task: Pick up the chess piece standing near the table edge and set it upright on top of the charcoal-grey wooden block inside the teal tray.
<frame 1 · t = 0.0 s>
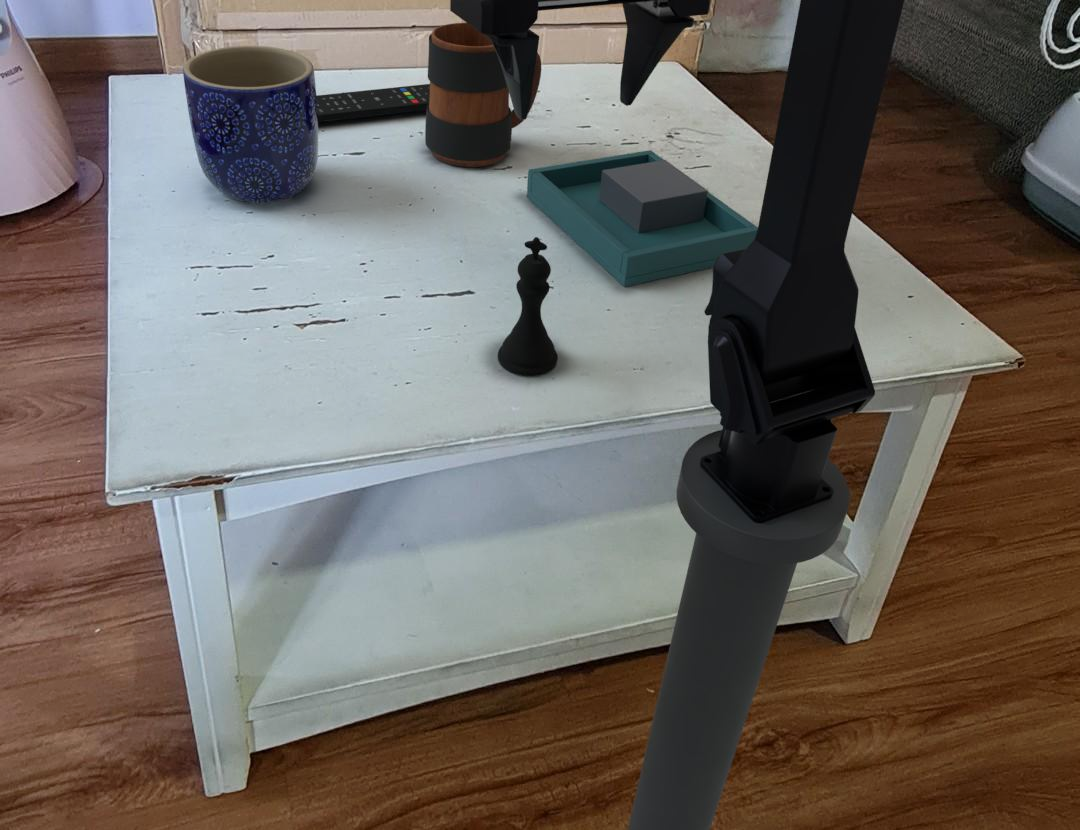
hand: (574, 110, 76), 13 cm above the table, tool pointing down, fingers open, 9 cm apart
chess piece: (527, 361, 73), on the table
mug: (483, 151, 102), on the table
remote control: (355, 115, 107), on the table
planter: (262, 188, 92), on the table
tray: (636, 226, 91), on the table
block: (650, 210, 92), resting on tray
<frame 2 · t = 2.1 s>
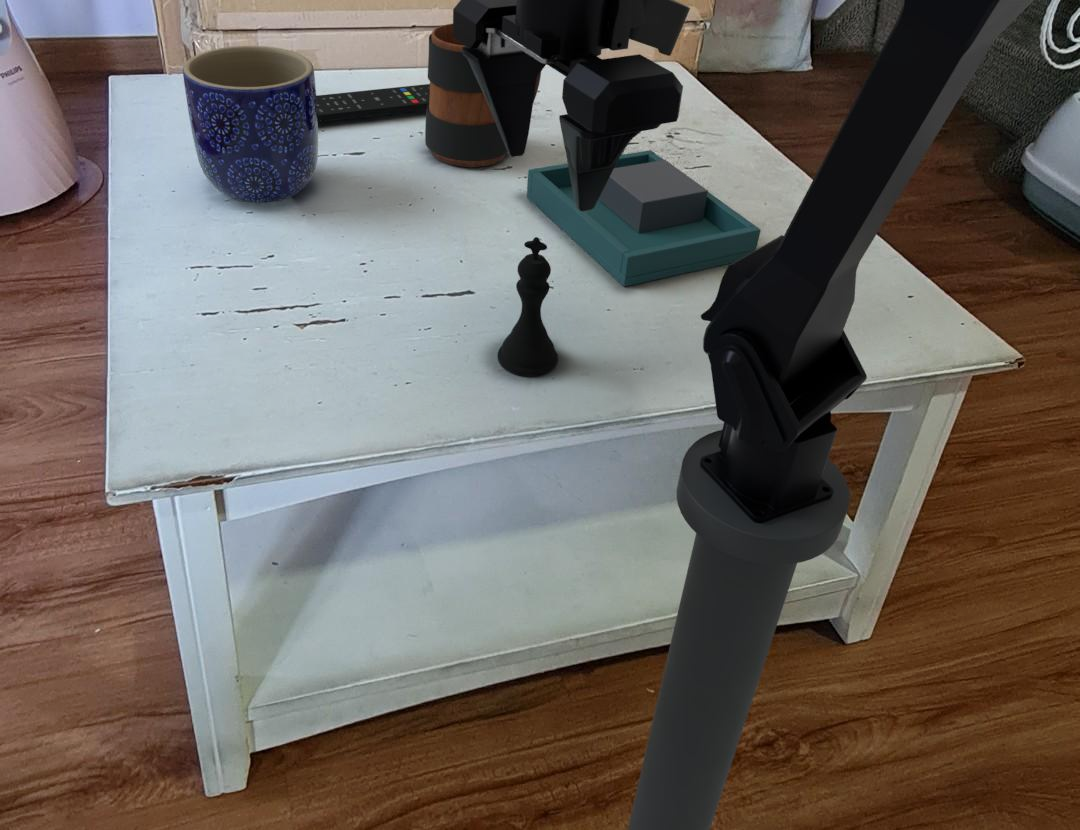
hand: (549, 181, 68), 13 cm above the table, tool pointing down, fingers open, 9 cm apart
nothing on the table moved.
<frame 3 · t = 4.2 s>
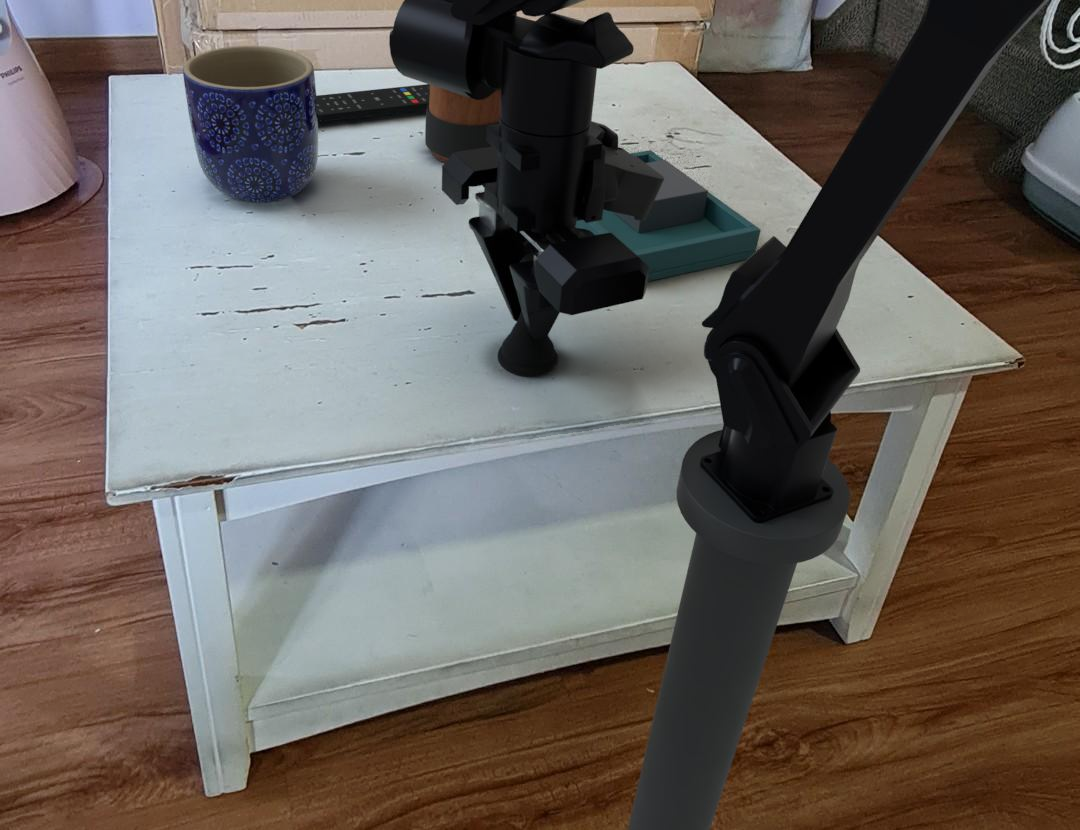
hand: (529, 329, 72), 3 cm above the table, tool pointing down, fingers closed on chess piece, 2 cm apart
chess piece: (527, 361, 73), on the table, touching gripper
everything else where it was.
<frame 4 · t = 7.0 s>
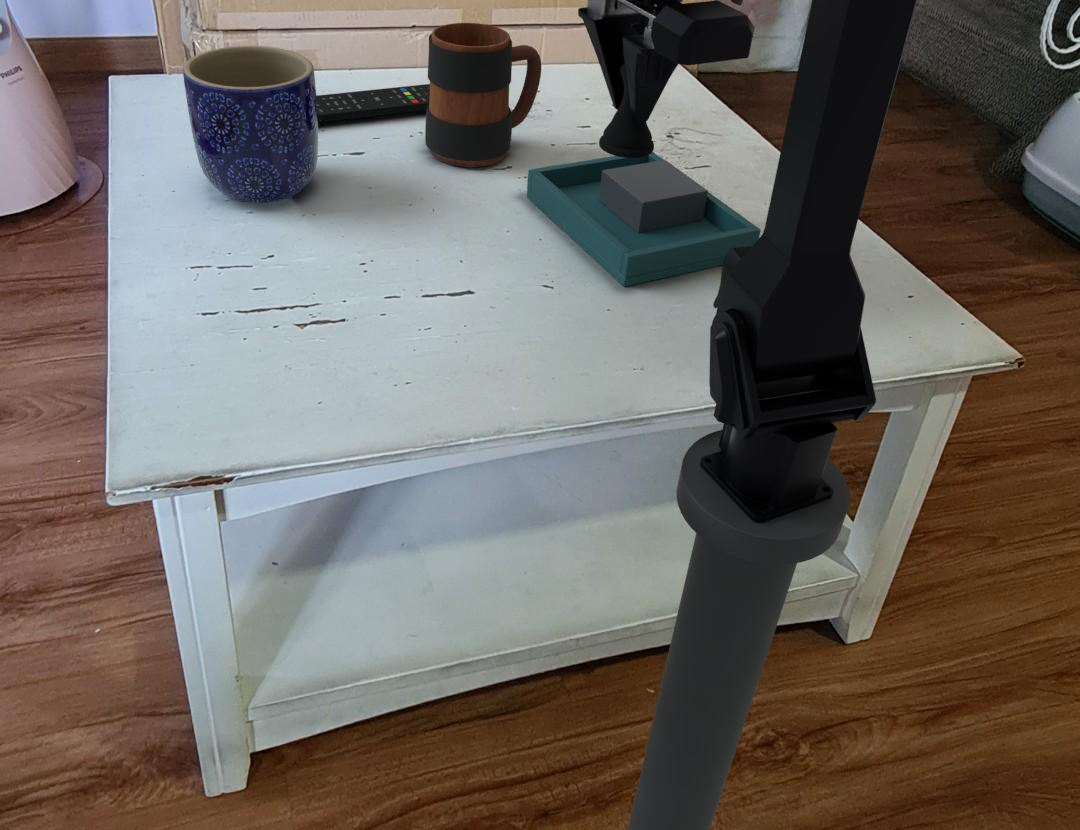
hand: (630, 115, 78), 13 cm above the table, tool pointing down, fingers closed on chess piece, 2 cm apart
chess piece: (625, 149, 80), point 10 cm above the table, touching gripper
everything else where it was.
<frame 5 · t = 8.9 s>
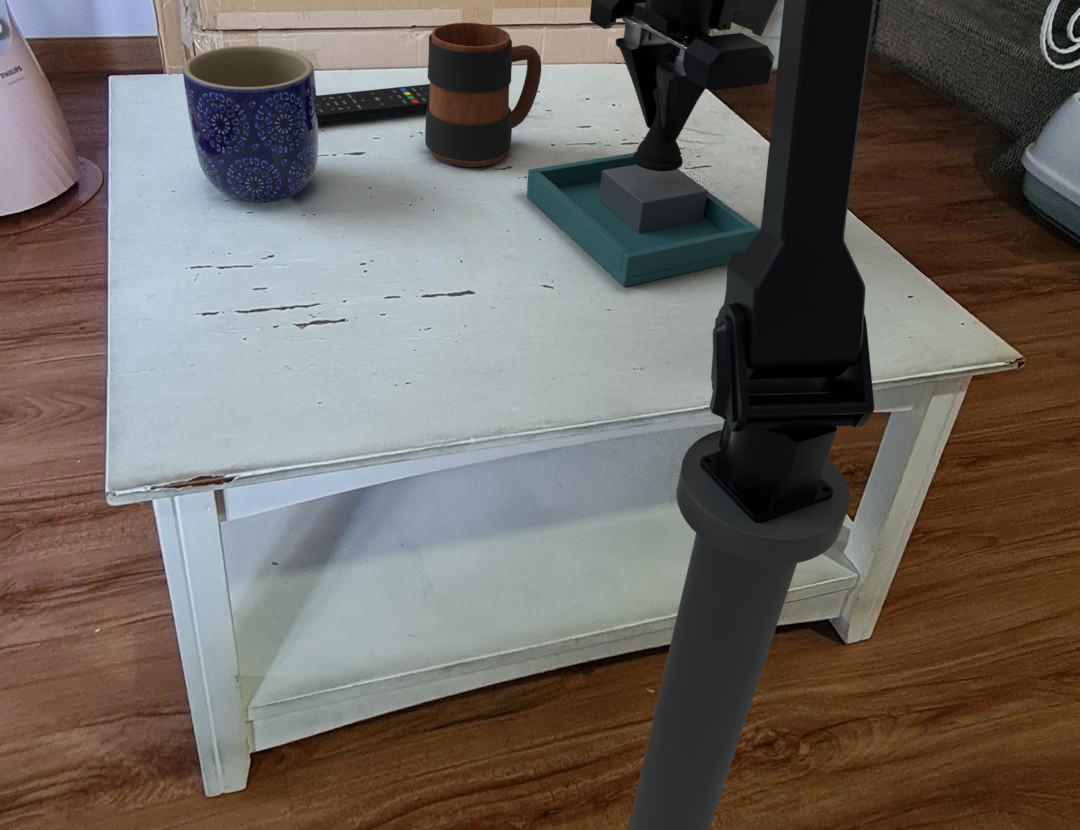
hand: (661, 133, 87), 8 cm above the table, tool pointing down, fingers closed on chess piece, 2 cm apart
chess piece: (657, 163, 89), point 5 cm above the table, touching gripper
everything else where it was.
when the fingers open (6 cm above the table, at t = 9.8 s): chess piece stays where it is, resting on block.
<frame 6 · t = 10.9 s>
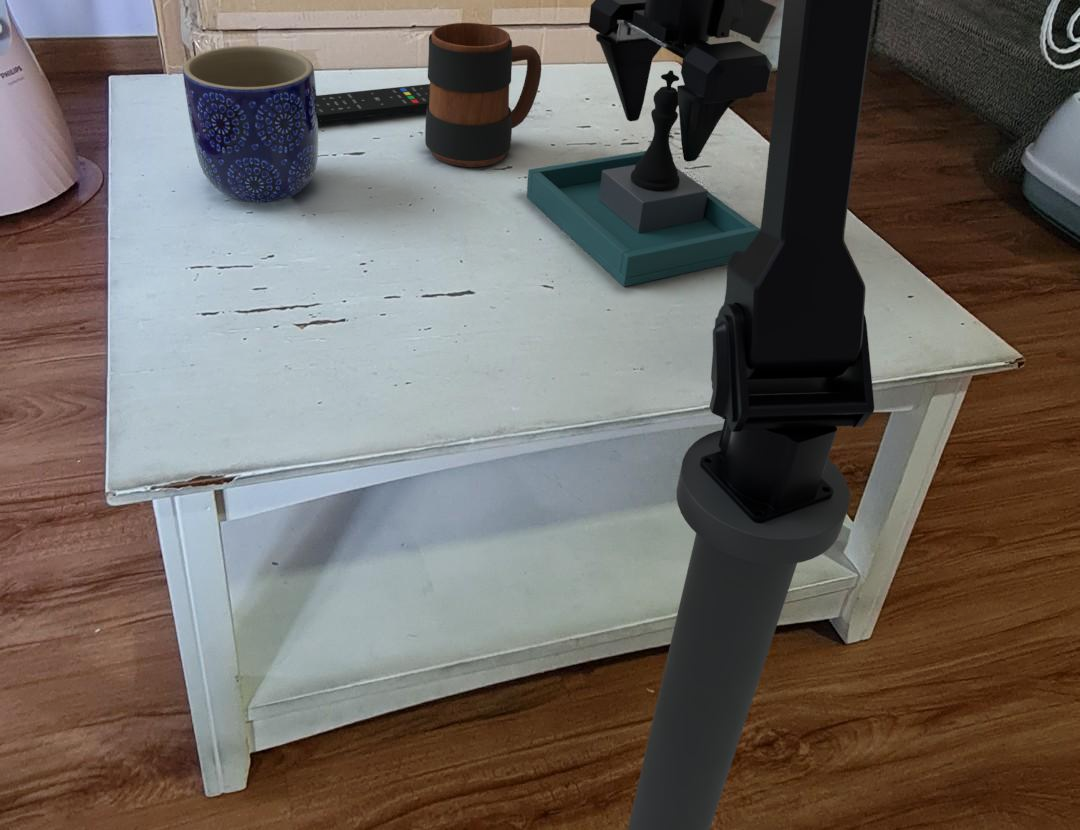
hand: (660, 139, 88), 8 cm above the table, tool pointing down, fingers open, 9 cm apart
chess piece: (654, 182, 90), point 4 cm above the table, touching block
everything else where it was.
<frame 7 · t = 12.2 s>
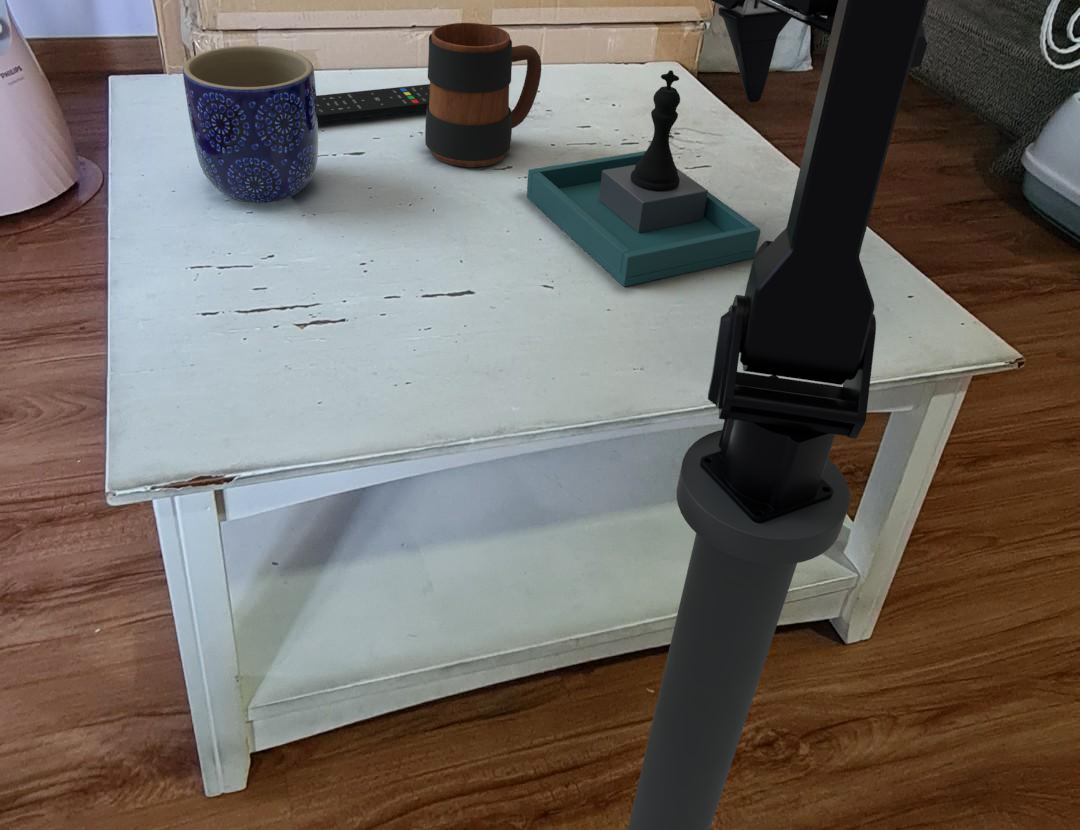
hand: (787, 121, 82), 12 cm above the table, tool pointing down, fingers open, 9 cm apart
nothing on the table moved.
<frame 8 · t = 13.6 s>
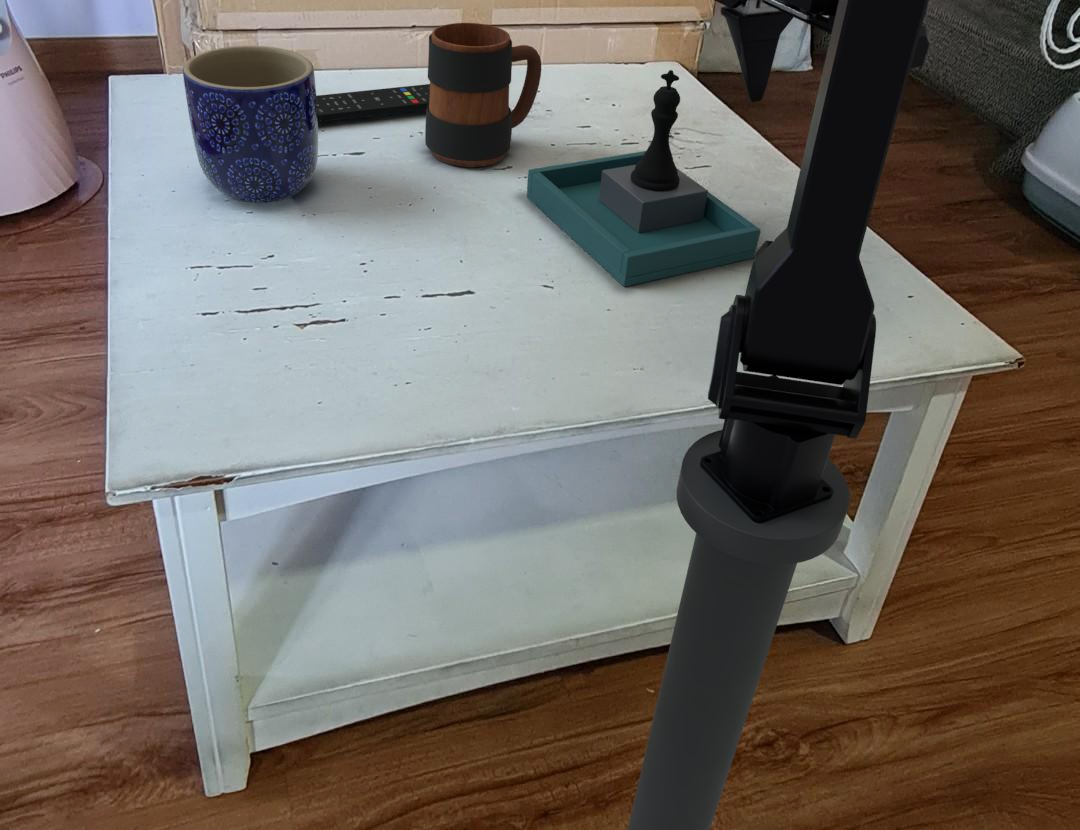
hand: (789, 121, 81), 12 cm above the table, tool pointing down, fingers open, 9 cm apart
nothing on the table moved.
at the end: chess piece 0.1 cm off-centre on the block, point 2.8 cm above the block's base; chess piece tilted 0°; the gripper is holding nothing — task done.
